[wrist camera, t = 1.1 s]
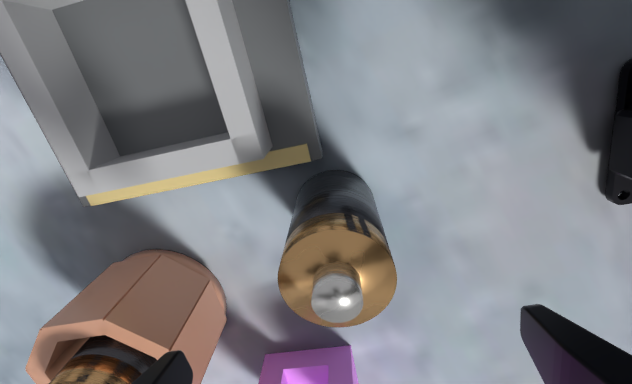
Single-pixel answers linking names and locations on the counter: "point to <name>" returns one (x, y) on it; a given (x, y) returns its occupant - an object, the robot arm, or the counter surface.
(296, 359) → the bracket
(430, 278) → the counter surface
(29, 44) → the cradle
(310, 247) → the cell
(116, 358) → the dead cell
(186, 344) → the cup
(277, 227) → the counter surface
